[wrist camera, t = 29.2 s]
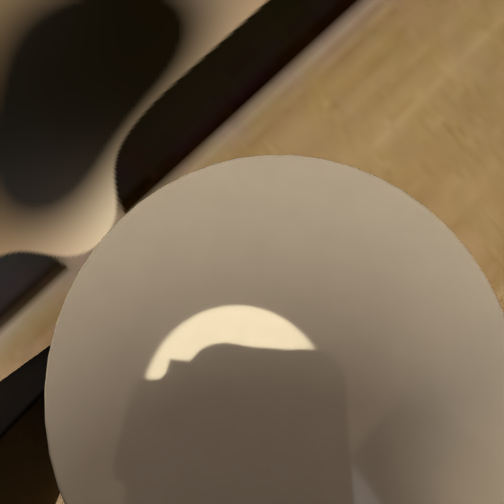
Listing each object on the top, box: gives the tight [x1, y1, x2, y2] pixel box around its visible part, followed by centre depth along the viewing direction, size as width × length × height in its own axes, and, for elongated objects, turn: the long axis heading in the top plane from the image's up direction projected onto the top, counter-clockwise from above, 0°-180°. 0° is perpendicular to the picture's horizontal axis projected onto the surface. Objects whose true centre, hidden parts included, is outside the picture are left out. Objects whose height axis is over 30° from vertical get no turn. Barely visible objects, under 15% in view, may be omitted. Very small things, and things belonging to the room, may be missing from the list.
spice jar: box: [45, 155, 504, 504], centre depth 10 cm, size 7×7×10 cm
